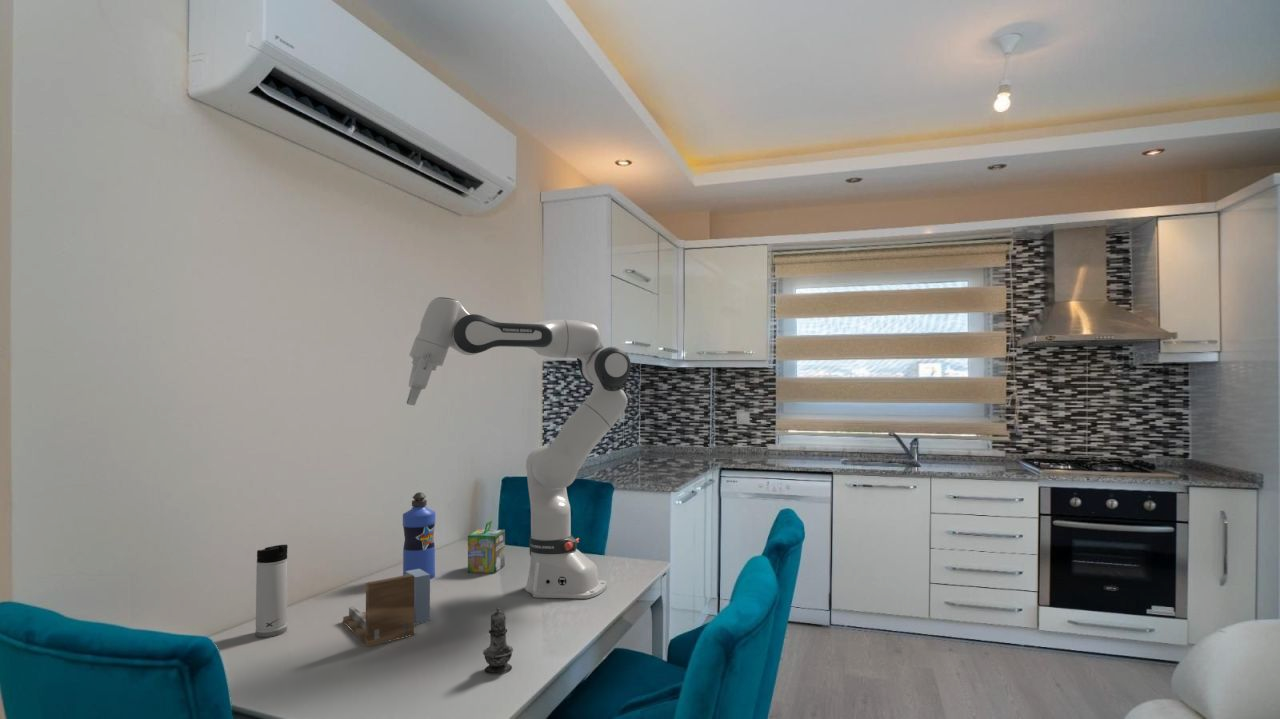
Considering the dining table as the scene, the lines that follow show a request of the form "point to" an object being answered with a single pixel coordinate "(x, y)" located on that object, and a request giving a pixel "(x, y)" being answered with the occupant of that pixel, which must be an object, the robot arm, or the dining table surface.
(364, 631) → the brown wooden holder
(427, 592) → the pale blue rectangular block
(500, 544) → the chalk box
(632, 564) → the dining table surface
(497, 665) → the salt shaker
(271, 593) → the travel mug
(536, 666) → the dining table surface
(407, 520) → the water bottle
